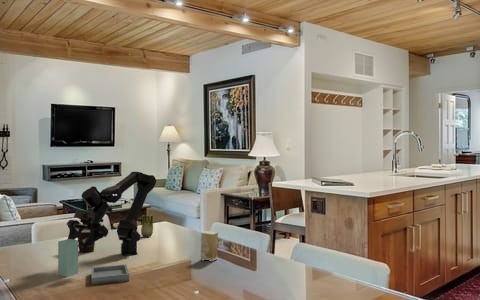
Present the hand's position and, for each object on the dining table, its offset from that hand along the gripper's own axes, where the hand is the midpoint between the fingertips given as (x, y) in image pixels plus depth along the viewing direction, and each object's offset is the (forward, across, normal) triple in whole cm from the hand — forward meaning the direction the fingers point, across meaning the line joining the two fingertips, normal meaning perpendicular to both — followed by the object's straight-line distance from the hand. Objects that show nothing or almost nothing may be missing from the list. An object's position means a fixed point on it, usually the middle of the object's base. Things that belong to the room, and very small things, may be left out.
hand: (75, 245), depth 158 cm
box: (+6, +17, +8) cm, 20 cm away
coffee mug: (-9, -22, +24) cm, 34 cm away
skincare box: (-21, +38, +35) cm, 56 cm away
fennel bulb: (-36, -16, +50) cm, 64 cm away
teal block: (+10, 0, +5) cm, 11 cm away
